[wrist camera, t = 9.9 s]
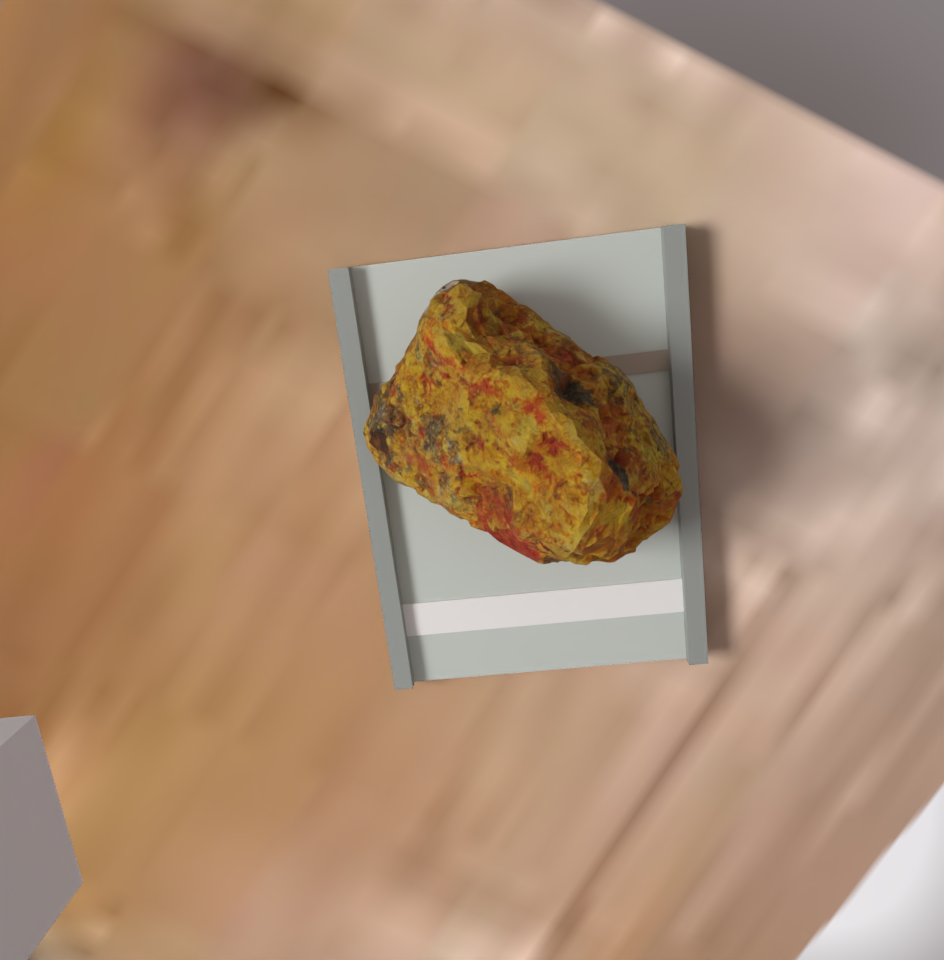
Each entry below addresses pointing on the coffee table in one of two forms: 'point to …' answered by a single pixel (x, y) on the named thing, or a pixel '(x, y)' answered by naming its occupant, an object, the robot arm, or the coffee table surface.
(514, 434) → the rock
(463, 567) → the mat
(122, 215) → the coffee table surface
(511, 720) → the coffee table surface
